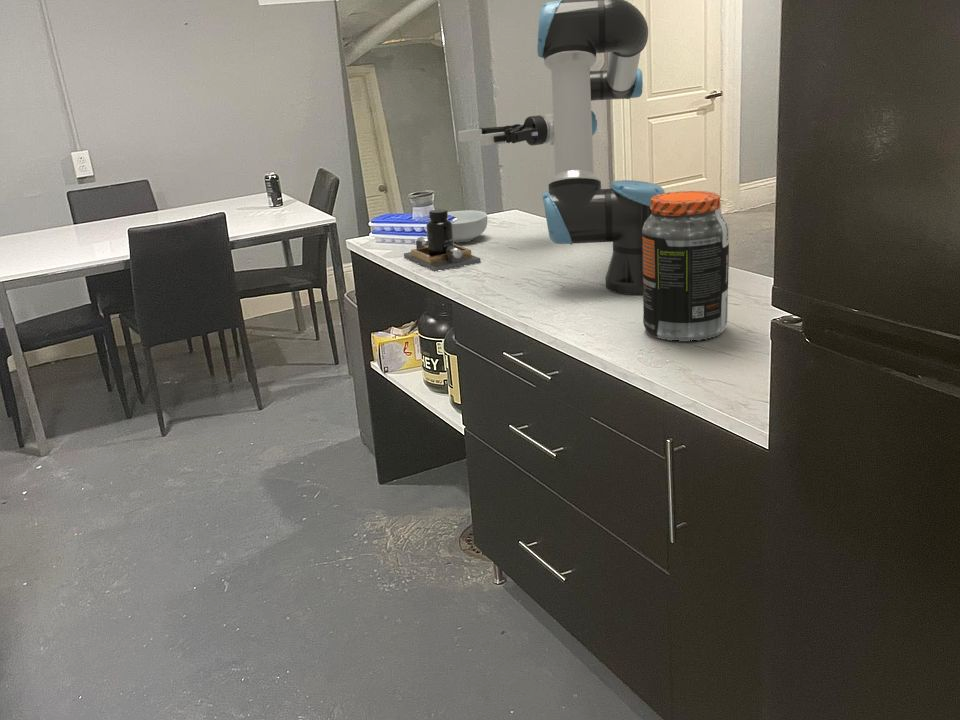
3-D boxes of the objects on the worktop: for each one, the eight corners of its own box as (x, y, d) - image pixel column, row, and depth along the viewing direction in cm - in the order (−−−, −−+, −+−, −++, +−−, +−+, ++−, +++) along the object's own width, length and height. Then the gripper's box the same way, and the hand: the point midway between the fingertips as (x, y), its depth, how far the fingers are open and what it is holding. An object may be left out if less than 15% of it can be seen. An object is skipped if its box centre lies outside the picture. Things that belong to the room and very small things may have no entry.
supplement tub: (742, 325, 173) (746, 191, 165) (701, 349, 163) (703, 207, 154) (669, 313, 184) (669, 186, 175) (626, 335, 173) (624, 201, 164)
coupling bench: (481, 263, 234) (480, 244, 232) (436, 272, 229) (434, 253, 227) (446, 249, 251) (445, 232, 250) (403, 257, 246) (402, 240, 244)
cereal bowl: (422, 239, 266) (420, 215, 263) (473, 231, 272) (472, 207, 270) (445, 250, 251) (443, 225, 249) (498, 240, 257) (497, 216, 255)
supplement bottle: (453, 258, 236) (450, 212, 232) (427, 259, 236) (423, 214, 232) (455, 251, 243) (451, 207, 238) (429, 253, 243) (426, 209, 239)
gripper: (566, 147, 230) (491, 157, 222) (521, 140, 252) (451, 149, 244) (565, 117, 228) (489, 126, 220) (519, 113, 249) (449, 121, 241)
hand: (469, 138), depth 232 cm, fingers open, 13 cm apart
